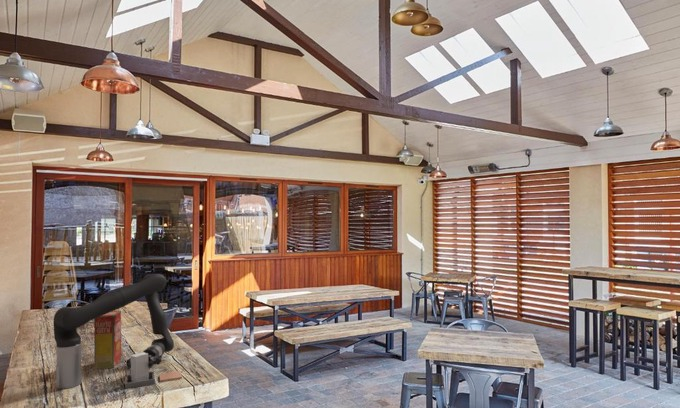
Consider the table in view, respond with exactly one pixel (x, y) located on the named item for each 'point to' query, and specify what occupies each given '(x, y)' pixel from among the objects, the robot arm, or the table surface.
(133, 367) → the skincare box
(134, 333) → the table surface
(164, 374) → the tile
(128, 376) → the tray
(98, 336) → the food packaging
